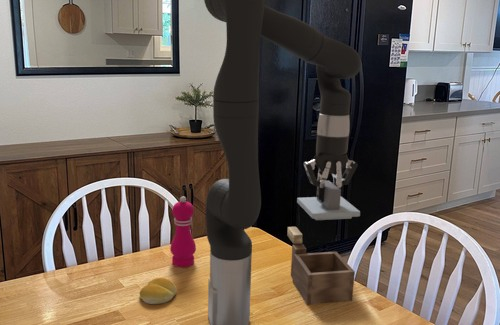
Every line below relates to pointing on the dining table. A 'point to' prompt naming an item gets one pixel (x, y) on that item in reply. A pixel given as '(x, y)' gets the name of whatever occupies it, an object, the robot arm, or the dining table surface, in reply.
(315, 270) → the toolbox
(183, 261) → the pepper mill
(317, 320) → the dining table surface
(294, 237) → the wooden key
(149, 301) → the bread roll
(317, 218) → the lid
